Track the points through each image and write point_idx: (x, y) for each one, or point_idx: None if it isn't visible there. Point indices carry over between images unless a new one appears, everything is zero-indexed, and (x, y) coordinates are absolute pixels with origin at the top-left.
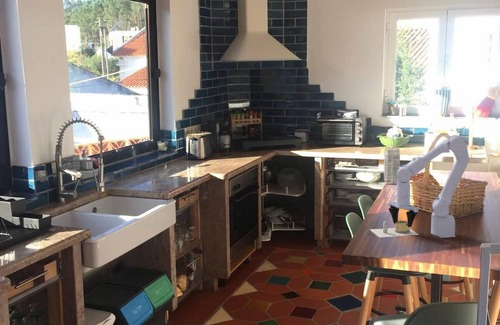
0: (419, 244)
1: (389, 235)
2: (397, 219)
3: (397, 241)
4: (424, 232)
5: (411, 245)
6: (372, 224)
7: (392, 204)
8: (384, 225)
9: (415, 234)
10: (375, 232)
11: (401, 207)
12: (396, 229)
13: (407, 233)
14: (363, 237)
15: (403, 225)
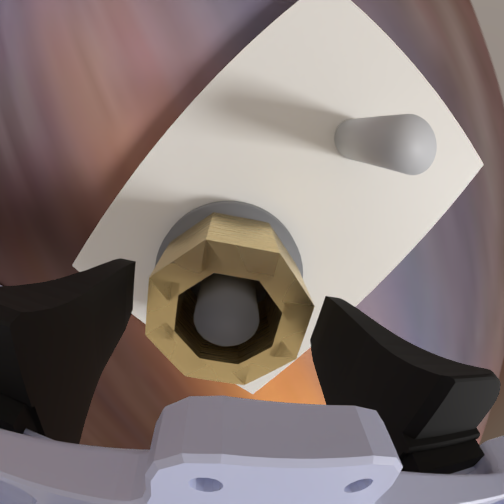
0: (6, 90)
1: (275, 71)
2: (318, 364)
3: (161, 25)
4: (118, 373)
5: (39, 27)
6: (481, 329)
7: (480, 485)
8: (389, 115)
9: (92, 253)
10: (423, 100)
11: (129, 464)
12: (270, 226)
13: (158, 239)
14: (440, 3)
15: (180, 251)
